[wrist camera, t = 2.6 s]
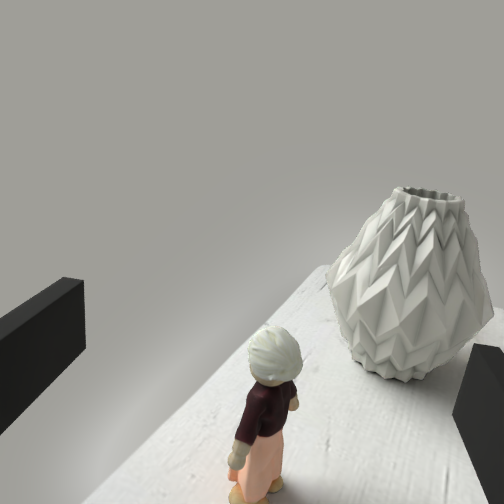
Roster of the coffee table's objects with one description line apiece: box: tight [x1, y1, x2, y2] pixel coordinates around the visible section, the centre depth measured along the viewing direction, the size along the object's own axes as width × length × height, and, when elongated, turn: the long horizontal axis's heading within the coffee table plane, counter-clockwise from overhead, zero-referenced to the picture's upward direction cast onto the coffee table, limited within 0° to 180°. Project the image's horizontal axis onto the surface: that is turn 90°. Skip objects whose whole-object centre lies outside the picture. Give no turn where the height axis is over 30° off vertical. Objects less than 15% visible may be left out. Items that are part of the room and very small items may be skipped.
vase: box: [325, 186, 494, 383], centre depth 45 cm, size 16×16×18 cm
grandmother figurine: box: [228, 326, 303, 504], centre depth 28 cm, size 8×4×13 cm, turn 159°
